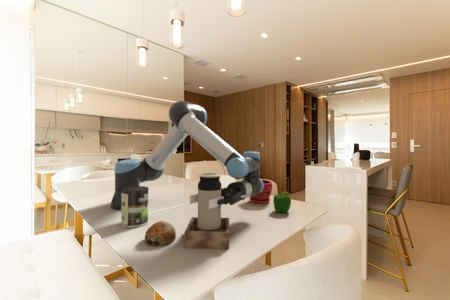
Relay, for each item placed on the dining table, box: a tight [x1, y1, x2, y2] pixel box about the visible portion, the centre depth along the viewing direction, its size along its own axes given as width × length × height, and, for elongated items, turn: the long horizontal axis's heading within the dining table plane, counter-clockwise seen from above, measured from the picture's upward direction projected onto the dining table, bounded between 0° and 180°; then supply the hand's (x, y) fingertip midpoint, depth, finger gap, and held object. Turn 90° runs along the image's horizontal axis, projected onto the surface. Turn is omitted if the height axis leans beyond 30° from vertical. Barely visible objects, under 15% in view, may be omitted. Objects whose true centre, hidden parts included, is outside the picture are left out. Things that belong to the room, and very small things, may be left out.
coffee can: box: [120, 185, 149, 229], centre depth 89 cm, size 10×10×14 cm
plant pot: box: [249, 178, 273, 205], centre depth 124 cm, size 13×13×12 cm
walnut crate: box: [183, 216, 230, 250], centre depth 76 cm, size 14×14×5 cm
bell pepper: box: [273, 191, 292, 214], centre depth 107 cm, size 8×8×10 cm
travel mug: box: [197, 172, 222, 230], centre depth 75 cm, size 8×8×18 cm
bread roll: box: [144, 220, 177, 247], centre depth 74 cm, size 10×10×8 cm
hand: (199, 201), depth 72 cm, fingers closed on travel mug, 8 cm apart
